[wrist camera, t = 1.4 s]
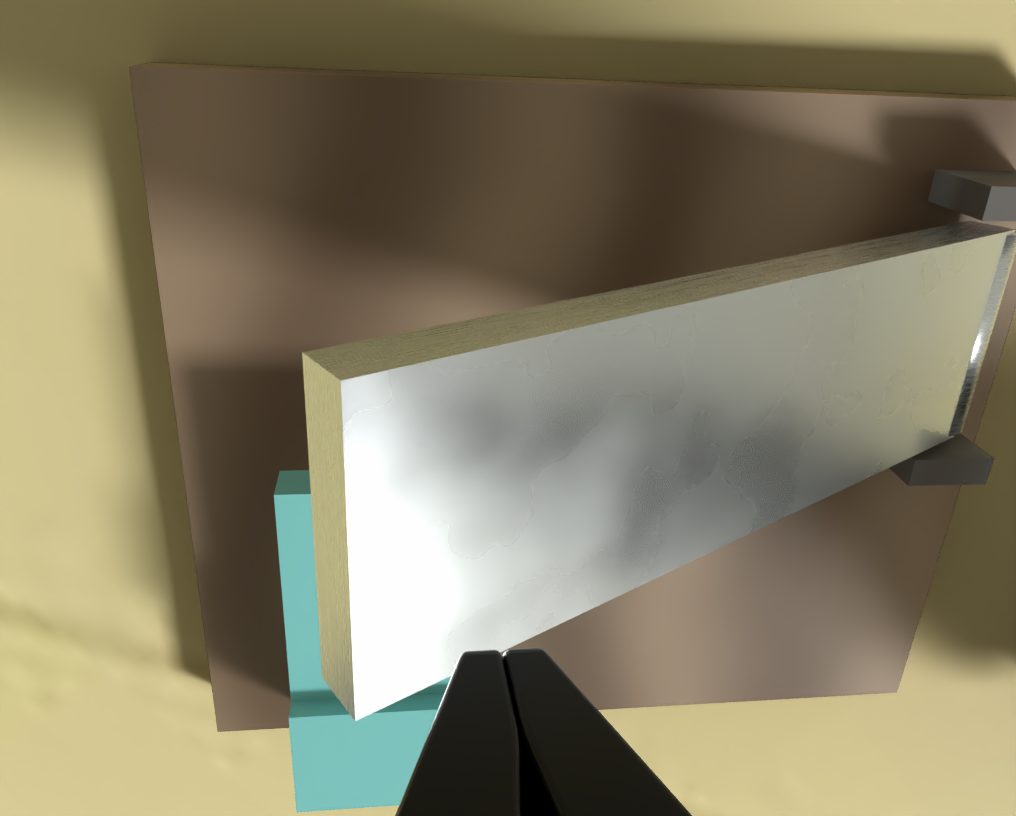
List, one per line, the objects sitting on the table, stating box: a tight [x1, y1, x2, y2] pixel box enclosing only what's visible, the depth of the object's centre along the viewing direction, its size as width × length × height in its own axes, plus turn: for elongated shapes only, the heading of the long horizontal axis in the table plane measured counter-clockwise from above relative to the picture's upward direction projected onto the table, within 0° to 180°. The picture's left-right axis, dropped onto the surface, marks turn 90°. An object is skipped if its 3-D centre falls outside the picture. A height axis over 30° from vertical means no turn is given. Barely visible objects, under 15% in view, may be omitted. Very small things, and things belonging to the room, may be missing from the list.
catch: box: [274, 470, 451, 812], centre depth 20 cm, size 4×8×3 cm, turn 178°
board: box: [129, 63, 1016, 732], centre depth 21 cm, size 20×17×4 cm
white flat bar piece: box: [302, 220, 1016, 721], centre depth 15 cm, size 17×5×1 cm, turn 87°
